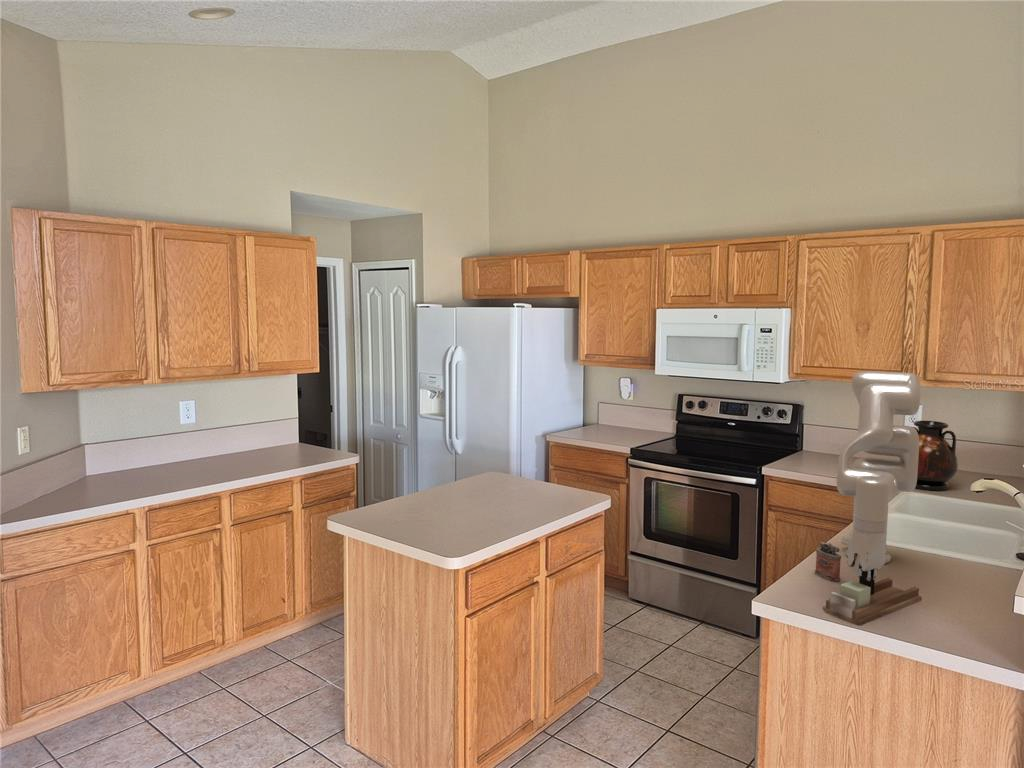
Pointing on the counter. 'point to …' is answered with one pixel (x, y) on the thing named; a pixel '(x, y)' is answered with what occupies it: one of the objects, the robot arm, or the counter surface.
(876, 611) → the chute
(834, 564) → the lighter
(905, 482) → the robot arm
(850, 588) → the block
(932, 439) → the amphora vase
